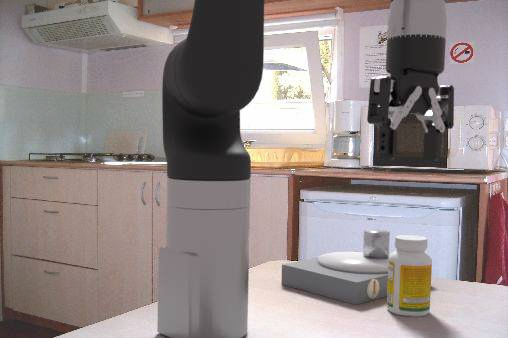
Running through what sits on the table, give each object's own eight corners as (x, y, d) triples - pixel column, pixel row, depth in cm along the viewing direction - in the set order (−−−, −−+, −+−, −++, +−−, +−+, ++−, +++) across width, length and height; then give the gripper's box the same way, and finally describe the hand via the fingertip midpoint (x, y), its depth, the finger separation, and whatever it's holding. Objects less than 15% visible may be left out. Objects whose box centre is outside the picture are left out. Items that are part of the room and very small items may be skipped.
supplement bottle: (378, 309, 74) (380, 236, 74) (403, 303, 78) (405, 232, 77) (413, 320, 70) (416, 242, 70) (438, 312, 74) (441, 238, 73)
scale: (358, 305, 76) (359, 278, 76) (281, 284, 87) (282, 260, 86) (430, 284, 88) (431, 261, 88) (355, 268, 99) (355, 247, 99)
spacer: (379, 260, 88) (379, 234, 88) (357, 256, 91) (358, 231, 91) (394, 257, 91) (394, 232, 90) (373, 253, 94) (373, 228, 93)
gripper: (401, 25, 69) (394, 160, 70) (473, 40, 77) (467, 161, 78) (356, 34, 75) (351, 157, 76) (428, 47, 83) (423, 159, 84)
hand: (410, 159), depth 77 cm, fingers open, 8 cm apart
